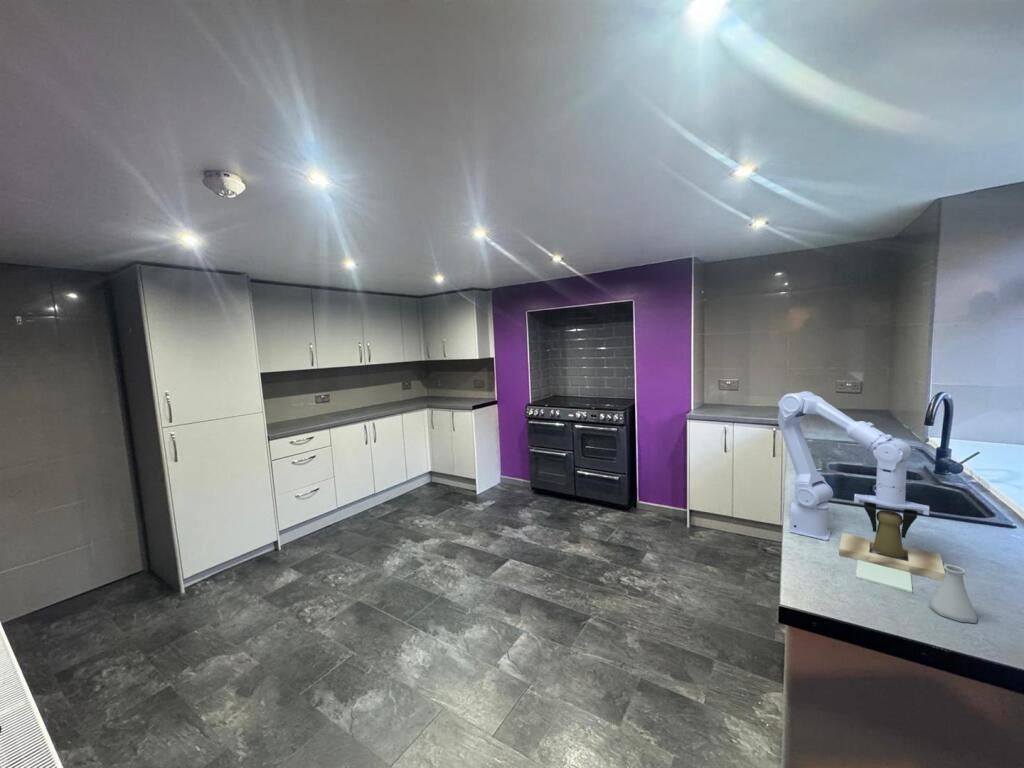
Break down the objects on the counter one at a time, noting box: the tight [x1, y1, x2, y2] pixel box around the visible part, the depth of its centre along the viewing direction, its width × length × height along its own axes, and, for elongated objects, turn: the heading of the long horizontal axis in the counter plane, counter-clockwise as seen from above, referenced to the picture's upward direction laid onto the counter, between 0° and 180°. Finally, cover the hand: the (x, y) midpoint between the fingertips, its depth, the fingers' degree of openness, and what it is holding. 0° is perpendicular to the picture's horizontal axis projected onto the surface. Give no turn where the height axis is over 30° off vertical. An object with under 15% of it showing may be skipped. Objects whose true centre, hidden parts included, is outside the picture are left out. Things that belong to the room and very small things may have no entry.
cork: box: [872, 509, 904, 558], centre depth 108 cm, size 6×6×11 cm
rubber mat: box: [855, 560, 913, 594], centre depth 100 cm, size 10×10×1 cm
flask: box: [928, 564, 978, 624], centre depth 86 cm, size 7×7×10 cm
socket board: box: [838, 532, 946, 582], centre depth 108 cm, size 20×12×2 cm, turn 47°
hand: (888, 533), depth 108 cm, fingers closed on cork, 5 cm apart
